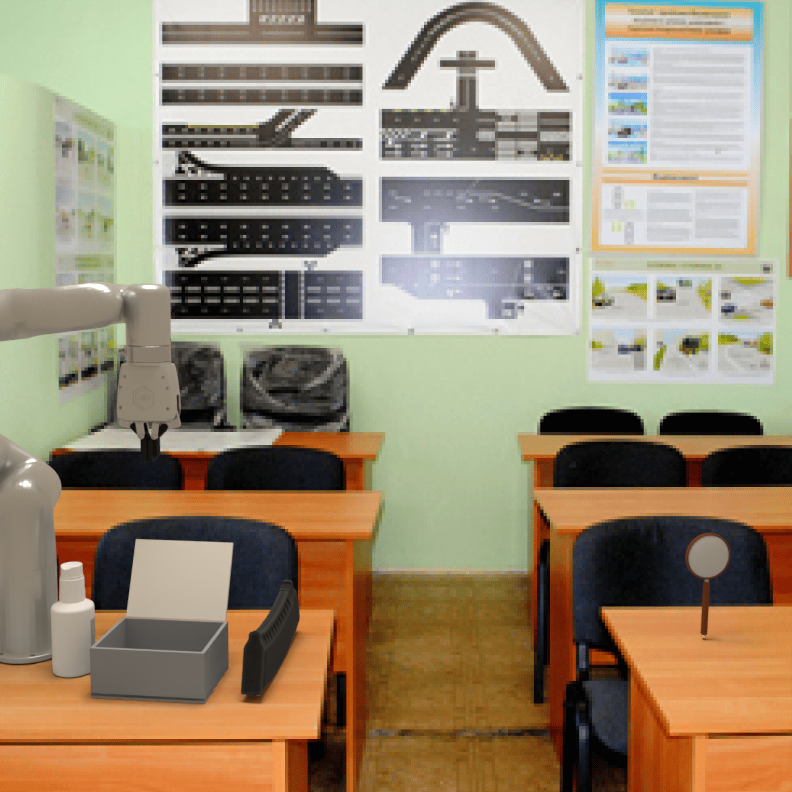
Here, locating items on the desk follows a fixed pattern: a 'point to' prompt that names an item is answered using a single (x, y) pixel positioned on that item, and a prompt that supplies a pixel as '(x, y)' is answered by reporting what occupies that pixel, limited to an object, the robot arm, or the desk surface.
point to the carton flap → (180, 579)
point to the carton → (159, 660)
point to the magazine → (270, 642)
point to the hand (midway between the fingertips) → (150, 460)
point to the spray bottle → (72, 624)
